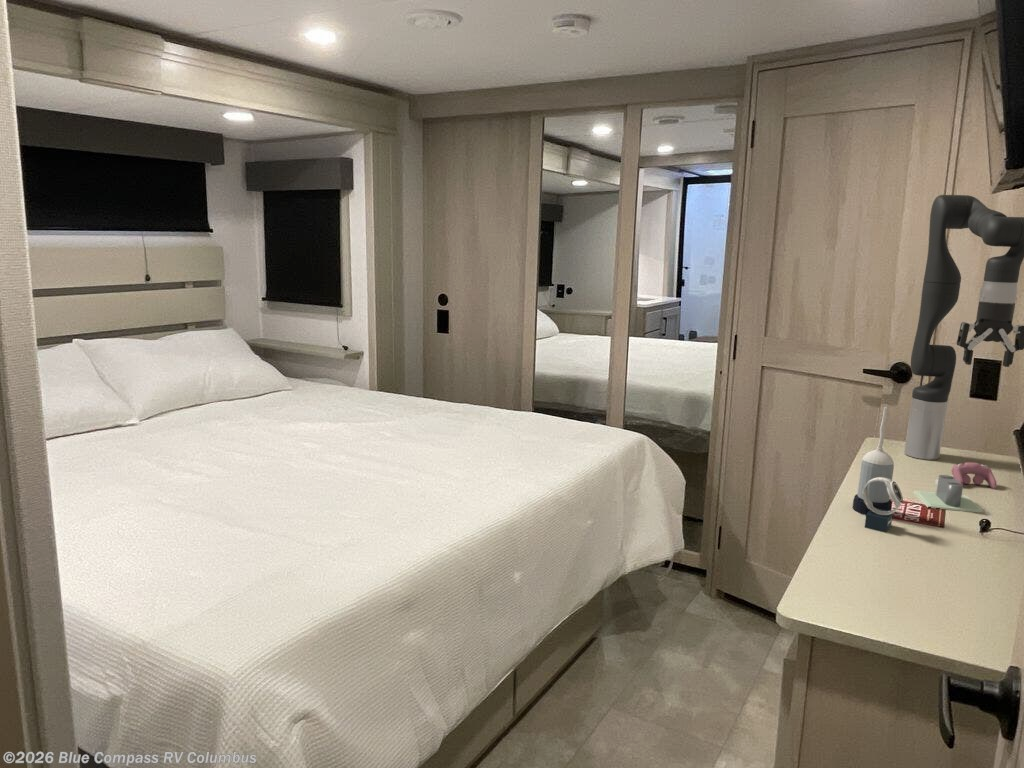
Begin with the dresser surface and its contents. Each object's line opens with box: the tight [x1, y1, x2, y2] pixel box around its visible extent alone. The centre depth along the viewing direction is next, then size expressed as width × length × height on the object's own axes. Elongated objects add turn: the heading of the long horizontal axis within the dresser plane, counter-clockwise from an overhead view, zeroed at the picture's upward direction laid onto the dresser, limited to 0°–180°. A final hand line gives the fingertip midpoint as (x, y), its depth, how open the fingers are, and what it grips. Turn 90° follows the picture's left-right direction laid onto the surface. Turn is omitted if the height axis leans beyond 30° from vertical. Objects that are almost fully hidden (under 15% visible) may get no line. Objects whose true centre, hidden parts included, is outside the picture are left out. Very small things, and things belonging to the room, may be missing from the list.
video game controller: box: [950, 462, 998, 490], centre depth 194 cm, size 10×5×7 cm, turn 85°
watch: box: [862, 477, 904, 533], centre depth 163 cm, size 6×8×11 cm
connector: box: [935, 474, 964, 507], centre depth 181 cm, size 11×3×5 cm, turn 168°
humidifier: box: [852, 406, 895, 516], centre depth 171 cm, size 8×8×25 cm
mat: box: [913, 490, 985, 514], centre depth 180 cm, size 11×12×1 cm
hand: (986, 365), depth 184 cm, fingers open, 8 cm apart
